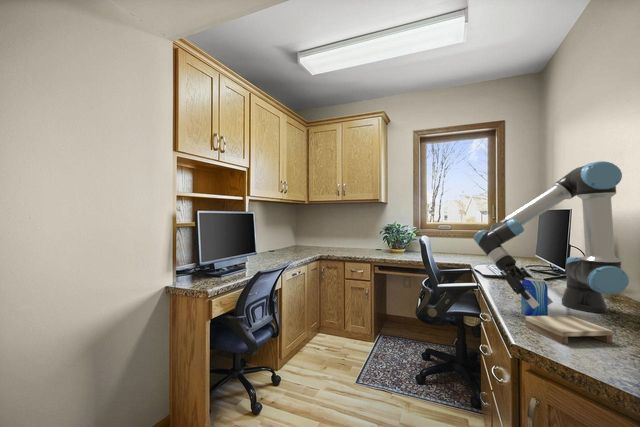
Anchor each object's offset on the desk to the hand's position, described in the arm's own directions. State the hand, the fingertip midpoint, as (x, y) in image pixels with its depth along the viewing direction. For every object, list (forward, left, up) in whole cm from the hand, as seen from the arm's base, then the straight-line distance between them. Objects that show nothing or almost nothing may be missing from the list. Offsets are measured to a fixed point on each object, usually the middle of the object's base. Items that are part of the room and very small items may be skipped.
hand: (543, 305), depth 107 cm
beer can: (+1, -3, -6) cm, 7 cm away
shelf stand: (+3, +12, -6) cm, 14 cm away
